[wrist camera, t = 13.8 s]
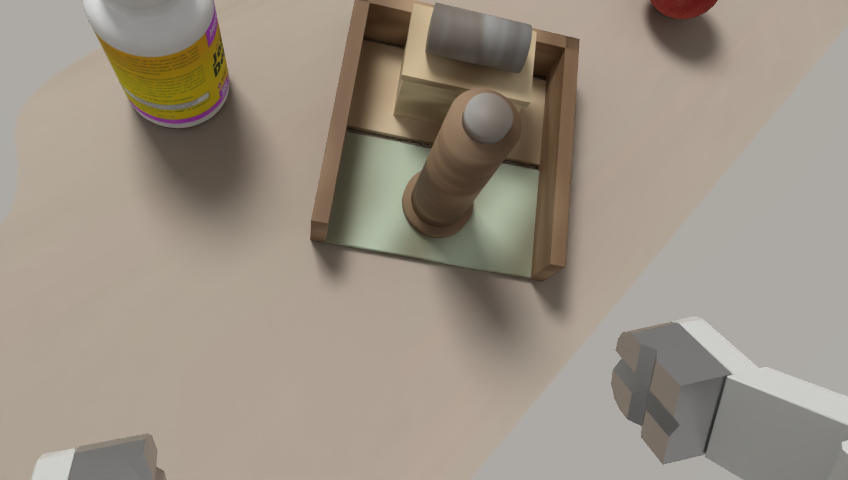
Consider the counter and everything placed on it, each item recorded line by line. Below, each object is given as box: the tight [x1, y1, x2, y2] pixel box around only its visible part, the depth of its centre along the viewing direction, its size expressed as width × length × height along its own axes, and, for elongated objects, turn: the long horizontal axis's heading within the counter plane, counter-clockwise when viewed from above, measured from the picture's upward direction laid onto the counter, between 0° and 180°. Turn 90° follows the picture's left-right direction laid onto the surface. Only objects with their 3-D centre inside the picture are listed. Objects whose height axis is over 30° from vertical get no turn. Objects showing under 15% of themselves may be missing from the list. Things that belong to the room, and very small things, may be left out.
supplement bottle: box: [83, 0, 229, 128], centre depth 37 cm, size 7×7×13 cm
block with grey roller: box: [393, 3, 537, 125], centre depth 42 cm, size 8×5×9 cm, turn 82°
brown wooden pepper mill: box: [402, 88, 522, 238], centre depth 37 cm, size 5×5×13 cm
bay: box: [310, 0, 579, 281], centre depth 44 cm, size 16×17×4 cm
